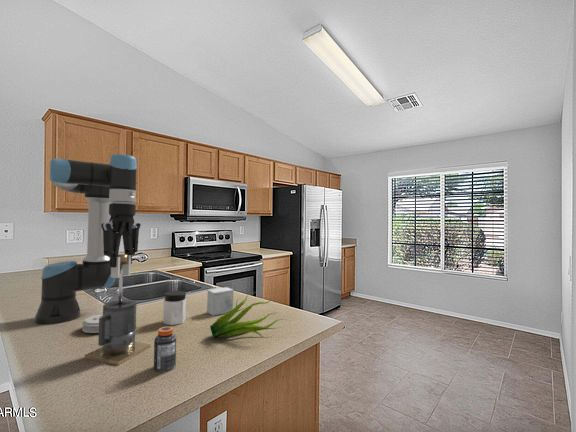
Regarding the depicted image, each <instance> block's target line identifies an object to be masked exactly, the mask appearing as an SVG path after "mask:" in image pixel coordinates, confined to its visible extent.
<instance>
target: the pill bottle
mask: <svg viewBox="0 0 576 432" xmlns="http://www.w3.org/2000/svg"><path fill="white" fill-rule="evenodd" d="M153 344H154V345H153V347H154V348H153V369H154V371H156V372H158V373H159V372H161V373H163V372H164V373H165V372H170V371H171V370H173V369H174V368H176V363H177V361H176V360H177V335H176V334H174V328H173V326H163V327H160V328H158V330H157V336H155V338H154V342H153Z"/></svg>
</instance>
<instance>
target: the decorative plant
mask: <svg viewBox="0 0 576 432" xmlns="http://www.w3.org/2000/svg"><path fill="white" fill-rule="evenodd" d="M255 293H257V292H255V291H254V294H255ZM251 294H253V292H252V293H249V294H247V295H246V296H245V298H244V299H243V300H242V301H241V302H240V303H239V304H238V301H239V299H241V298H242V296H240V297H239V299H237V300H236V303H235V304H236V305H235V307H233V310H231V311H229V312H227V313H224V314H223V315H221V316H220V317H218V318H217V320H216V321H215V322H213V323H212V324H210V327H209V328H210V331H211V335H212V338H213V339H217V338H219V337H221V336H222V337H223V336H224V337H231V336H234V335H239V334H245V333H246V334H247V333H255V334H257V335H258V336H260V337H261V338H265V339H266V338H268V336H263V335H262V334H261V333H260V332H259V331H258V330H265V329H267V328H270V327H272V326H273V325H274V324H275V323H277V322H278V321H280V320H281V321H282V320H283V321H285V320H286V321H289V322H290V319H287V318H279V319H276V320H274V321H273V322H271V323H270V324H267V325H264V326H263V325H257V324H259V323H261V322H262V321H264V320H266V319H267V318H268V316H270V315H273V314H278V313H279V312H277V311H276V312H271V313H268V314H267V315H265V316H264V317H261V318H259V319H255V320H247V321H241V319H242V318H243V317H244V316H245V315H247V313H248V312H249V311H250V310H251V309H252V308H253V306H257V305H262V304H264V305H265V304H267V303H270V302H271V301H272V299H270V300H268V301H266V302H264V301H258V302H253V303H252V304H250V305H249V306H248V305H246V306H245V307H244V308H241V307H242V306H243V305H244V304H245V303H246V301H247V300H248V299H247V298H248V297H249V296H250V295H251ZM276 296H277V294H275V295H274V297H276ZM237 313H238V314H237ZM236 314H237V315H236ZM235 315H236V316H235ZM234 316H235V317H234ZM232 317H233V318H232ZM274 336H275V335H274V334H273V335H272V336H270V338H271V337H274Z"/></svg>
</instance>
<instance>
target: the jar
mask: <svg viewBox="0 0 576 432" xmlns="http://www.w3.org/2000/svg"><path fill="white" fill-rule="evenodd" d="M162 319H163V324H164V325H168V326H176V325H181V324H184V322H185V321H186V320H187V297H186V291H184V290H172V291H167V292H165V293H164V300H163V317H162Z"/></svg>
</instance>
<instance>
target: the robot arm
mask: <svg viewBox="0 0 576 432" xmlns="http://www.w3.org/2000/svg"><path fill="white" fill-rule="evenodd" d="M49 162H50V163H49V180H50V182H51V184H53V186H55V187H56V188H57V189H60V190H63V191H65V192H69V193H74V194H84V199H86V201H87V202H88V217H87V244H86V245H87V246H86V248H87V250H86V256H85V257H84V258H82V263H78V262H77V261H76V260H68V261H67V260H66V261H59V262H55V263H51V264H48V265H45V266H44V267H43V268H42V272H41V277H40V278H41V297H40V298H41V301H40V304H39V307H38V309H37V312H36V314H35V316H34V317H35V319H34V321H35V323H36V324H40V325H41V324H42V325H48V324H49V325H50V324H60V323H64V322H69V321H71V320H75V319H77V318H79V317H80V316H81V308H80V304H79V302H78V300H77V292H79V291H80V292H81V291H90V290H99V289H100V290H103V289H106V288H110V287H112V286H113V285H114V283H115V282H116V279H119V278H120V257H117V256H118V254H119V252H120V251H119V250H120V245H121V240H122V242H123V243H122V244H123V251H124V254H127V255H128V263H127V264H123V276H126V277H127V276H128V277H129V276H130V277H131V267H132V264H133V256H135V255H136V253H137V252H138V250H139V249H138V247H139V235H140V228H141V223H140V222H136V221H135V218H134V216H136V204H135V203H136V201H137V198H136V197H137V195H136V194H137V169H138V165H137V158H136V157H135V156H133V155H130V154H123V153H113V154H111V155H110V160H109V163H108V164H107V163H100V162H91V161H90V162H89V161H82V160H75V159H74V160H72V159H66V158H51V159H50V161H49Z"/></svg>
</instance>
